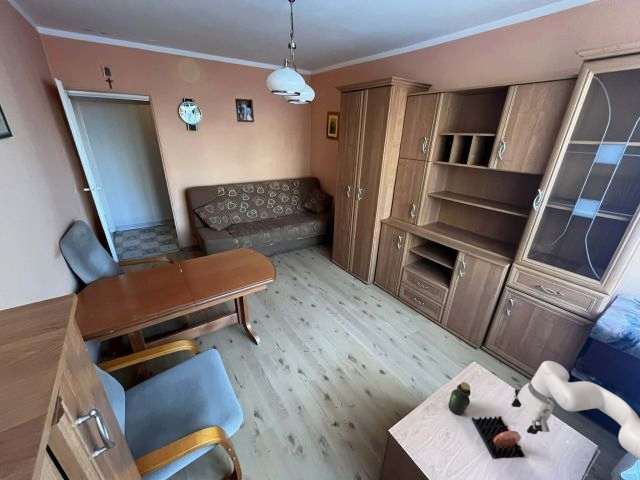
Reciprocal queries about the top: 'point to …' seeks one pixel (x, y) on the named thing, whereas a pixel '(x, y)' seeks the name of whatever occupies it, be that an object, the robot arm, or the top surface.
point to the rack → (490, 431)
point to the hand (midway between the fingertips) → (522, 418)
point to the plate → (507, 439)
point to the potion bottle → (460, 399)
